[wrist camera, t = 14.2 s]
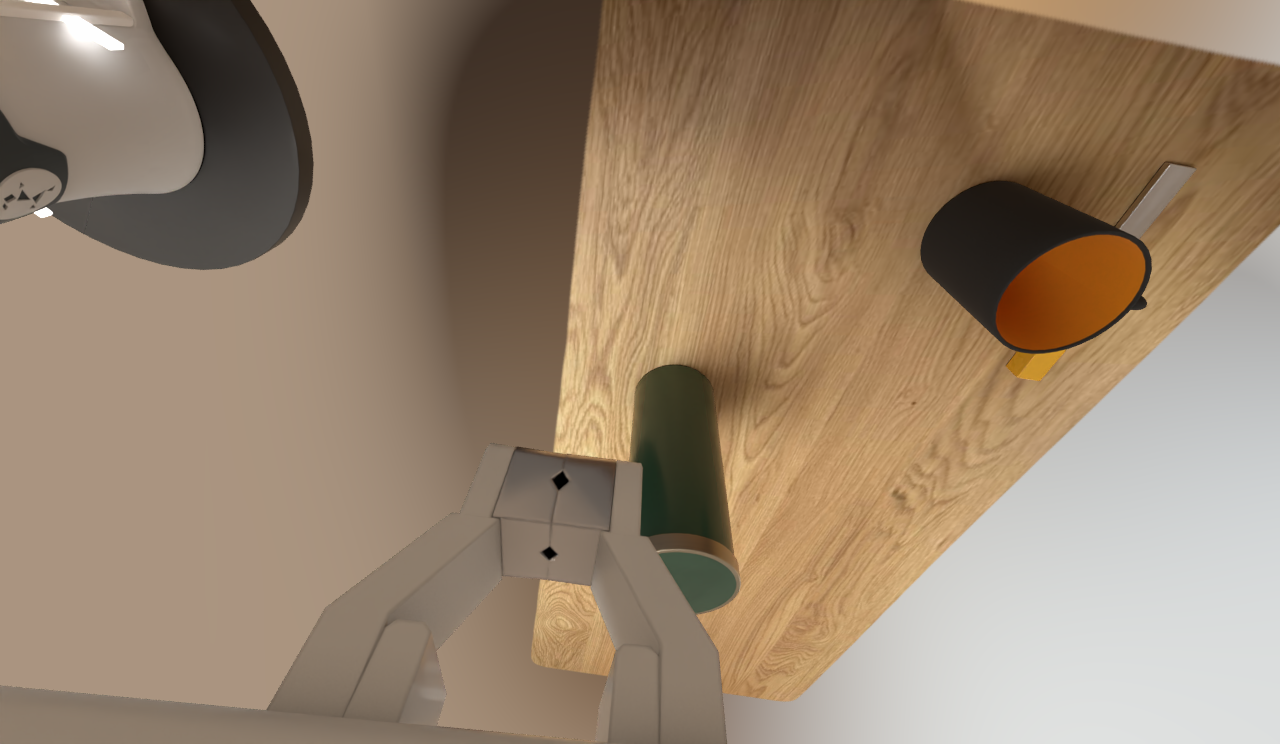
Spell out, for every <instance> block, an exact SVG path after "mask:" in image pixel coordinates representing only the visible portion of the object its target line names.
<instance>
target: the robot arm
mask: <svg viewBox="0 0 1280 744" xmlns="http://www.w3.org/2000/svg"><path fill="white" fill-rule="evenodd" d="M203 153H204V138H203V130H202V125H201V121H200V117H199V114H198V111H197V108H196V105H195V102H194V100H193V98H192V95H191V93H190V91H189V89H188V87H187V85H186V83H185V81H184V80H183V78H182V76H181V74H180V73H179V71H178V69H177V68H176V66H175V65H174V63H173V62H172V60H171V59H170V57H169V55H168V54H167V52H166V51H165V49H164V48H163V46H162V45H161V43H160V41H159V40H158V38H157V36H156V34H155V32H154V31H153V28H152V25H151V22H150V19H149V16H148V13H147V10H146V7H145V4H144V1H143V0H0V224H2V223H5V222H9V221H12V220H15V219H18V218H21V217H24V216H27V215H29V214H32V213H35V214H37V215H38V216H39V217H41V218H42V217H45V216H49V215H52V213H53V212H52V211H50V210H49V209H47V208H46V207H49V206H51V205H53V204H55V203H59V202H65V201H70V200H77V199H83V198H90V197H98V196H107V195H119V194H162V193H169V192H173V191H176V190H179V189H181V188H183V187H184V186H186V185H187V184H188V183H190V182H191V181H192V180H193V178H194V177H195V176H196V174H197V173H198V171H199V169H200V166H201V163H202V159H203ZM642 472H643V467H642V465H641V463H635V462H627V461H619V460H617V461H616V460H614V459H605V458H597V457H589V456H581V455H572V454H560V453H554V452H548V451H540V450H535V449H529V448H522V447H514V446H507V445H501V444H495V443H490V445H489V446H488V447H487V449H486V450H485V453H484V455H483V457H482V460H481V463H480V465H479V467H478V470H477V472H476V475H475V477H474V479H473V482H472V484H471V487H470V489H469V492H468V494H467V496H466V499H465V501H464V504H463V506H462V509H461V511H460V513H450V514H449V515H448V516H446V517H445V518H444V519H442V520H441V521H440V522H438V523H437V524H436V525H434V526H433V527H432V528H430V529H429V530H428V531H426V532H425V533H424V534H423V535H421V536H420V537H418V538H417V539H416V540H414V541H413V542H412V543H411V544H409V545H408V546H407V547H405V548H404V549H403V550H401V551H400V552H399V553H397V554H396V555H395V556H393V557H392V558H391V559H389V560H388V561H387V562H385V563H384V564H383V565H381V566H380V567H379V568H377V569H376V570H375V571H373V572H372V573H371V574H370V575H368V576H367V577H365V578H364V579H363V580H361V581H360V582H359V583H357V584H356V585H355V586H354V587H352V588H351V589H350V590H348V591H347V592H346V593H345V594H343V595H342V596H340V597H339V598H338V599H336V600H335V601H334V602H332V603H331V604H330V605H328V606H327V607H326V608H325V609H324V611H323V613H322V614H321V616H320V618H319V619H318V621H317V623H316V625H315V627H314V628H313V630H312V632H311V633H310V635H309V637H308V639H307V640H306V642H305V644H304V646H303V647H302V649H301V651H300V653H299V654H298V656H297V658H296V660H295V661H294V663H293V665H292V666H291V668H290V670H289V672H288V673H287V675H286V677H285V679H284V681H283V682H282V684H281V685H280V687H279V689H278V691H277V692H276V694H275V696H274V698H273V699H272V701H271V703H270V705H269V706H268V708H267V710H257V709H247V708H235V707H225V706H214V705H204V704H192V703H181V702H172V701H161V700H150V699H139V698H129V697H117V696H107V695H97V694H86V693H74V692H65V691H53V690H43V689H32V688H22V687H11V686H0V744H727V739H726V728H725V716H724V706H723V694H722V684H721V673H720V662H719V652H718V650H717V648H716V647H715V645H714V643H713V642H712V640H711V639H710V637H709V635H708V634H707V632H706V630H705V629H704V627H703V626H702V624H701V622H700V621H699V619H698V617H697V616H696V614H695V613H694V611H693V609H692V608H691V606H690V604H689V603H688V601H687V600H686V598H685V596H684V595H683V593H682V592H681V590H680V588H679V587H678V585H677V583H676V582H675V580H674V579H673V577H672V575H671V574H670V572H669V570H668V569H667V567H666V566H665V564H664V562H663V561H662V559H661V557H660V556H659V554H658V553H657V551H656V549H655V548H654V546H653V544H652V543H651V541H650V540H649V538H648V537H645V536H640V525H641V499H642ZM502 576H510V577H520V578H532V579H543V580H547V579H548V580H551V581H558V582H565V583H572V584H579V585H586V586H591V590H592V593H593V595H594V598H595V600H596V603H597V605H598V608H599V610H600V612H601V615H602V617H603V620H604V622H605V625H606V627H607V630H608V632H609V634H610V637H611V639H612V642H613V644H614V647H615V649H616V652H615V655H614V658H613V662H612V665H611V669H610V672H609V675H608V679H607V682H606V685H605V689H604V692H603V696H602V699H601V702H600V706H599V712H598V722H597V731H596V741H589V740H578V739H568V738H557V737H545V736H536V735H525V734H514V733H503V732H493V731H482V730H470V729H461V728H450V727H439V726H437V724H438V720H439V717H440V714H441V710H442V707H443V704H444V701H445V697H446V690H445V686H444V682H443V677H442V673H441V669H440V665H439V661H438V657H437V653H436V651H437V650H438V649H439V648H440V646H441V645H442V644H443V643H444V642H445V641H446V640H447V639H448V638H449V637H450V636H451V634H452V633H453V632H454V631H455V630H456V629H457V628H458V627H459V626H460V625H461V623H462V622H463V621H464V620H465V619H466V618H467V617H468V616H469V615H470V614H471V613H472V611H473V610H474V609H475V608H476V607H477V606H478V605H479V604H480V603H481V601H483V599H484V598H485V597H486V596H487V595H488V594H489V593H490V592H491V591H492V590H493V588H494V587H495V586H496V585H497V584H498V583H499V582H500V581H501V580H502Z"/></svg>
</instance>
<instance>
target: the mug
mask: <svg viewBox="0 0 1280 744" xmlns="http://www.w3.org/2000/svg"><path fill="white" fill-rule="evenodd" d="M921 260H922V263H923V266H924V268H925V270H926V271H927V273H928V274H929V275H930V276H931V277H932V278H933V279H934V280H935V281H937V282H938V283H939V284H940V285H941V286H942V287H943V288H944V289H945V290H946V291H947V292H948V293H949V294H950V295H951V296H952V297H953V298H954V299H955V300H957V301H958V302H959V303H960V304H961V305H962V306H963V307H964V308H965V309H966V310H967V311H968V312H969V313H970V314H971V315H972V316H973V317H974V318H976V319H977V320H978V321H979V322H980V323H981V324H982V325H983V326H984V327H985V328H986V329H987V330H988V331H989V332H990V333H991V334H992V335H994V336H995V337H996V338H997V339H998V340H999V341H1000V342H1001V343H1002V344H1003V345H1005V346H1006V347H1008V348H1010V349H1012V350H1015V351H1018V352H1021V353H1029V354H1045V353H1052V352H1058V351H1061V350H1065V349H1069V348H1072V347H1074V346H1077V345H1080V344H1082V343H1084V342H1086V341H1088V340H1090V339H1093V338H1095V337H1096V336H1098V335H1100V334H1101V333H1103V332H1104V331H1106V330H1108V329H1109V328H1110V327H1112V326H1113V325H1114V324H1116V323H1117V322H1118V321H1119V320H1120V319H1121V318H1123V317H1124V316H1125V315H1126V314H1127V313H1128V312H1129V311H1130V310H1141V309H1144V308H1145V307H1146V305H1147V302H1146V300H1145V298H1144V297H1142V296H1141V295H1142V294H1143V292H1144V291H1145V288H1146V286H1147V284H1148V282H1149V279H1150V274H1151V270H1152V264H1151V256H1150V253H1149V250H1148V249H1147V247H1146V246H1145V245H1144V243H1143V242H1142V241H1141V240H1139V239H1138V238H1136V237H1135V236H1133V235H1131V234H1129V233H1127V232H1125V231H1122V230H1120V229H1118V228H1116V227H1114V226H1112V225H1109V224H1107V223H1105V222H1103V221H1101V220H1098V219H1096V218H1094V217H1092V216H1089V215H1087V214H1085V213H1083V212H1081V211H1078V210H1076V209H1074V208H1072V207H1070V206H1067V205H1065V204H1063V203H1061V202H1058V201H1056V200H1054V199H1052V198H1049V197H1047V196H1045V195H1043V194H1041V193H1038V192H1036V191H1034V190H1032V189H1029V188H1027V187H1025V186H1023V185H1020V184H1017V183H1015V182H1008V181H994V182H989V183H984V184H981V185H978V186H975V187H972V188H970V189H968V190H966V191H964V192H962V193H961V194H959V195H958V196H956V197H955V198H953V199H952V200H951V201H949V202H948V203H947V204H946V205H945V206H944V207H943V208H942V209H941V210H940V211H939V212H938V213H937V214H936V215H935V217H934V218H933V220H932V221H931V222H930V224H929V226H928V228H927V230H926V232H925V234H924V237H923V240H922V244H921Z"/></svg>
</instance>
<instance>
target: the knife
mask: <svg viewBox="0 0 1280 744" xmlns="http://www.w3.org/2000/svg"><path fill="white" fill-rule="evenodd" d="M1195 171H1196V168H1193V167H1189V166H1183V165H1178V164H1173V163H1167V162H1165V163H1164V164H1163V165H1162V167H1161V168H1160V169H1159V171H1158V172H1157V173H1156V174H1155V176H1154V177H1153V178H1152V180H1151V181H1150V182H1149V183H1148V185H1147V186H1146V187H1145V189H1144V190H1143V191H1142V193H1141V194H1140V195H1139V196H1138V198H1137V199H1136V200H1135V202H1134V203H1133V204H1132V205H1131V207H1130V208H1129V209H1128V211H1127V212H1126V213H1125V214H1124V216H1123V217H1122V218H1121V220H1120V221H1119V222H1118V223H1117V225H1116V226H1115V227H1116V228H1118V229H1120V230H1122V231H1125V232H1127V233H1129V234H1131V235H1133V236H1135V237H1136V238H1138V239H1140V238H1141V236H1142V235H1143V234H1144V233H1145V231H1146V230H1147V229H1148V228H1149V227H1150V225H1151V224H1152V223H1153V222H1154V220H1155V219H1156V218H1157V217H1158V216H1159V214H1160V213H1161V212H1162V211H1163V210H1164V208H1165V207H1166V206H1167V205H1168V203H1169V202H1170V201H1171V200H1172V199H1173V197H1174V196H1175V195H1176V194H1177V192H1178V191H1179V190H1180V189H1181V188H1182V186H1183V185H1184V184H1185V183H1186V182H1187V180H1188V179H1189V178H1190V177H1191V175H1192V174H1193V173H1194V172H1195ZM1066 350H1067V349H1065V350H1061V351H1058V352H1052V353H1045V354H1029V353H1021V352H1018V351H1017V352H1016V353H1015V355H1014V356H1013V357H1012V359H1011V360H1010V361H1009V362H1008V364H1007V365H1006V367H1007V368H1008V369H1009V370H1010V371H1011V372H1012V373H1013V374H1014V375H1015V376H1016V377H1017V378H1023V379H1030V380H1036V381H1040V380H1041V379H1042V378H1043V377H1044V376H1045V374H1046V373H1047V372H1048V371H1049V370H1050V369H1051V367H1052V366H1053V365H1054V364H1055V363H1056V361H1057V360H1058V359H1059V358H1060V357H1061V356H1062V354H1063V353H1064V352H1065V351H1066Z"/></svg>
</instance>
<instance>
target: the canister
mask: <svg viewBox="0 0 1280 744" xmlns="http://www.w3.org/2000/svg"><path fill="white" fill-rule="evenodd" d="M629 462H635V463H641V465H642V467H643V472H642V499H641V525H640V536H645V537H648V538H649V540H650V541H651V543H652V544H653V546H654V548H655V549H656V551H657V553H658V554H659V556H660V557H661V559H662V561H663V562H664V564H665V566H666V567H667V569H668V570H669V572H670V574H671V575H672V577H673V579H674V580H675V582H676V583H677V585H678V587H679V588H680V590H681V592H682V593H683V595H684V596H685V598H686V600H687V601H688V603H689V604H690V606H691V608H692V609H693V611H694V613H695V614H696V615H698V614H703V613H707V612H711V611H714V610H716V609H719V608H721V607H723V606H725V605H726V604H728V603H729V602H731V601H732V600H733V599H734V598H735V597H736V595H737V594H738V592H739V589H740V585H741V581H740V574H739V566H738V562H737V559H736V558H735V556H734V550H733V542H732V534H731V526H730V518H729V510H728V502H727V494H726V486H725V478H724V470H723V463H722V455H721V447H720V439H719V431H718V423H717V415H716V407H715V399H714V391H713V388H712V385H711V383H710V382H709V380H708V379H707V378H706V377H705V376H704V375H703V374H702V373H700V372H699V371H697V370H695V369H693V368H690V367H687V366H681V365H668V366H663V367H659V368H656V369H654V370H652V371H650V372H649V373H647V374H646V375H645V376H644V377H643V378H642V379H641V380H640V382H639V383H638V385H637V387H636V391H635V400H634V412H633V423H632V435H631V446H630V457H629Z"/></svg>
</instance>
